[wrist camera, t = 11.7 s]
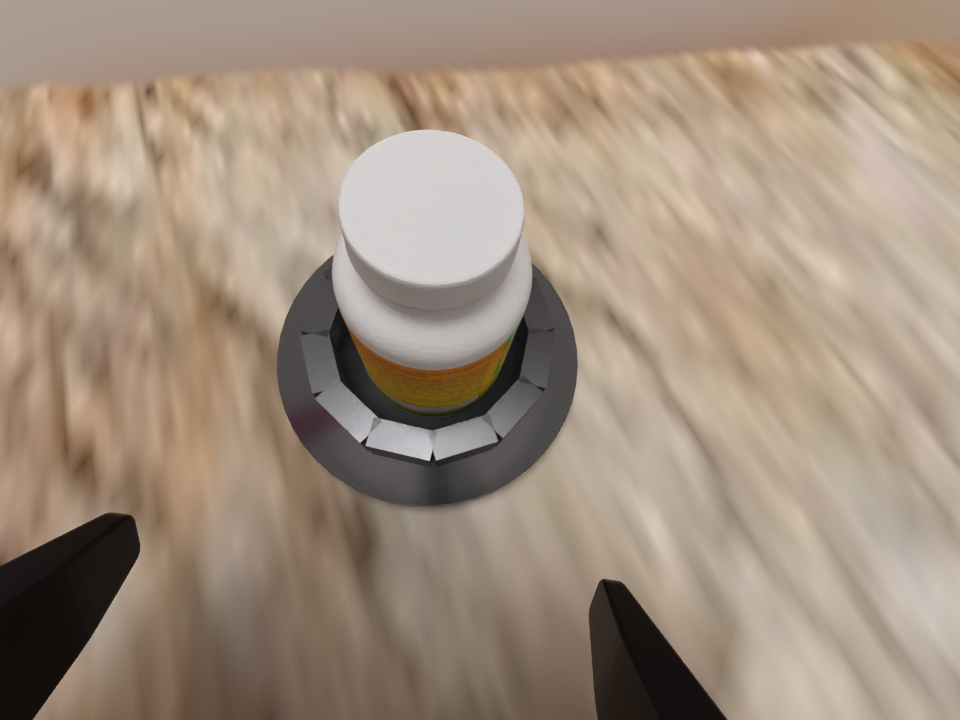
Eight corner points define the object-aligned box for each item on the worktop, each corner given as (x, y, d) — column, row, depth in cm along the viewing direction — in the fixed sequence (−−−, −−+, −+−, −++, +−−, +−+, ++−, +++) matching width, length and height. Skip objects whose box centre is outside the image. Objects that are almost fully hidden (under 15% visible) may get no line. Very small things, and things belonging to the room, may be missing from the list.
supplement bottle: (508, 414, 19) (578, 311, 10) (368, 426, 18) (298, 327, 9) (493, 291, 20) (540, 101, 11) (364, 297, 20) (303, 103, 11)
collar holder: (435, 577, 18) (434, 587, 15) (224, 364, 20) (185, 334, 17) (623, 356, 21) (654, 329, 18) (429, 194, 23) (428, 145, 20)
